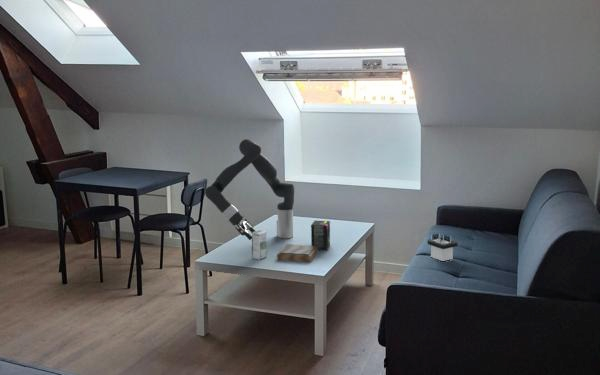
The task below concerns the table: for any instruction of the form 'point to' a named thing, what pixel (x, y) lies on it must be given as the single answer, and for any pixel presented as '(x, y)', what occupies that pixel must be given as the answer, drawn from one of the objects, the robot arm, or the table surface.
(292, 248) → the brown wooden flat block
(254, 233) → the syrup box
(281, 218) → the robot arm
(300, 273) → the table surface
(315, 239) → the tampon box
